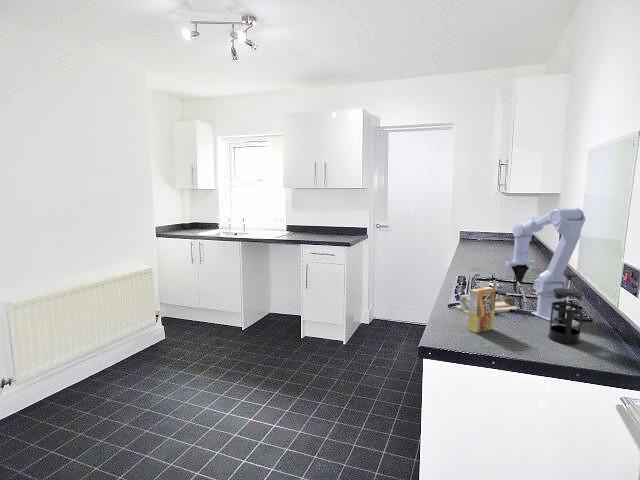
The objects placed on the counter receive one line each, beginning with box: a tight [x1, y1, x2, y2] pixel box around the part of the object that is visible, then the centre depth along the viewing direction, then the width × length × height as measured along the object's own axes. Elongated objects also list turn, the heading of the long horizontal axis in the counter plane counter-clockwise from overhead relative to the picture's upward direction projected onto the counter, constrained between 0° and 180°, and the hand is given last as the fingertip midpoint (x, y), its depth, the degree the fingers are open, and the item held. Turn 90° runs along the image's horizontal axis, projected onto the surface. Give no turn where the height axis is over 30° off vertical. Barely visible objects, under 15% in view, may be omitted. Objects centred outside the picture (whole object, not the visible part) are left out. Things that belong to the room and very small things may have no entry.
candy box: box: [467, 286, 497, 334], centre depth 145 cm, size 9×4×15 cm, turn 116°
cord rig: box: [455, 294, 521, 315], centre depth 169 cm, size 10×24×6 cm, turn 106°
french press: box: [547, 272, 585, 346], centre depth 136 cm, size 12×9×23 cm
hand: (518, 281), depth 177 cm, fingers closed
